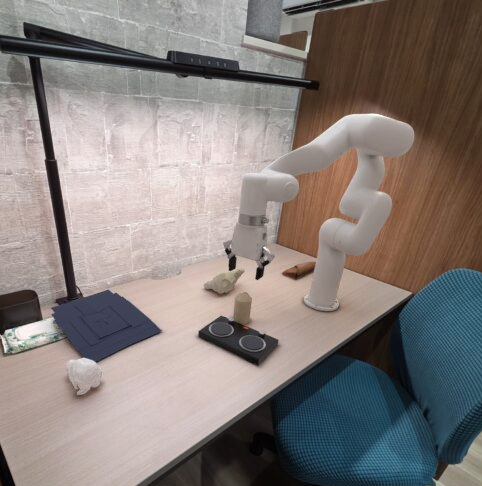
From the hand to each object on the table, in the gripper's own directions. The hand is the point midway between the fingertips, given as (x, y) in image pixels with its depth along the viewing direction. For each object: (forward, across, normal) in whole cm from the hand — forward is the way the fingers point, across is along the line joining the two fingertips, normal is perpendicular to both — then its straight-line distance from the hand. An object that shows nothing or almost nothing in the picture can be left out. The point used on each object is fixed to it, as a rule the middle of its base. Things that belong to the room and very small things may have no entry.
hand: (244, 274), depth 98 cm
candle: (+17, 0, 0) cm, 17 cm away
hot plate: (+17, -6, +10) cm, 21 cm away
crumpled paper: (+18, +14, +51) cm, 56 cm away
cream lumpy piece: (+17, +17, -16) cm, 29 cm away
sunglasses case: (+16, +1, -53) cm, 56 cm away
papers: (+18, +31, +32) cm, 48 cm away
